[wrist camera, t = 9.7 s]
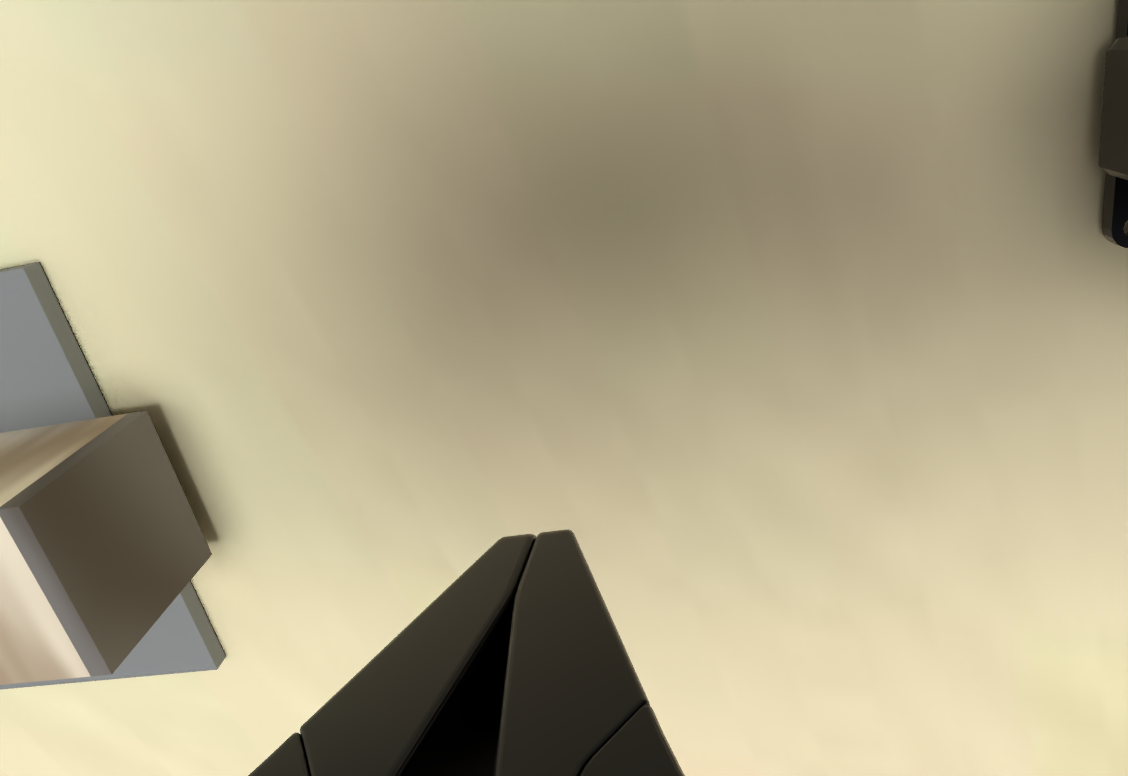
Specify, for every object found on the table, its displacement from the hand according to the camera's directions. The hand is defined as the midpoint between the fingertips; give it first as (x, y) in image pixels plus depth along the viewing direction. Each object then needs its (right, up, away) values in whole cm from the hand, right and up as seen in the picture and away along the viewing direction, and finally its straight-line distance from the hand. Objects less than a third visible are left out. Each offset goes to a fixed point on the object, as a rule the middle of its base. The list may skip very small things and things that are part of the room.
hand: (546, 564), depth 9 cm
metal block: (-11, -2, +12) cm, 16 cm away
